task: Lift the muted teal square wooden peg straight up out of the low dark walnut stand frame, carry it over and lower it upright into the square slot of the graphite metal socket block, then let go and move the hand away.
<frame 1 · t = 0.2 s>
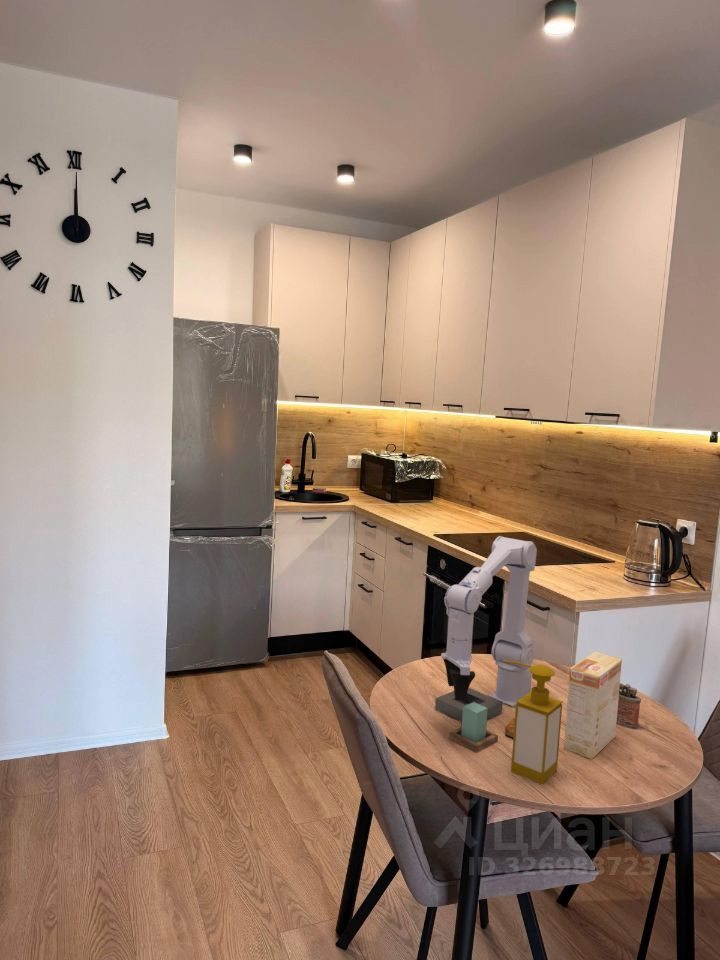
hand: (456, 692, 160), 10 cm above the table, tool pointing down, fingers open, 7 cm apart
socket block: (468, 711, 173), on the table
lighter: (621, 723, 170), on the table
teal peg: (474, 723, 158), in the stand frame
stand frame: (473, 740, 158), on the table
pastry: (523, 733, 163), on the table
coffeecake box: (589, 743, 159), on the table
soap bottle: (522, 767, 148), on the table
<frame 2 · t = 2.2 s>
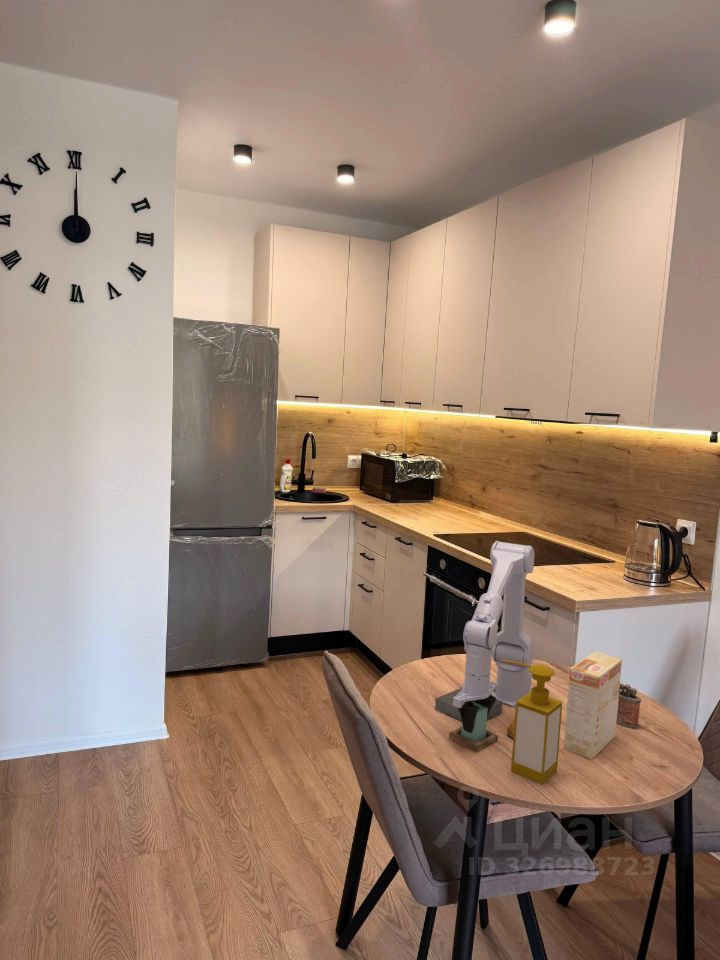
hand: (473, 728, 158), 3 cm above the table, tool pointing down, fingers closed on teal peg, 4 cm apart
teal peg: (474, 723, 158), in the stand frame, touching gripper
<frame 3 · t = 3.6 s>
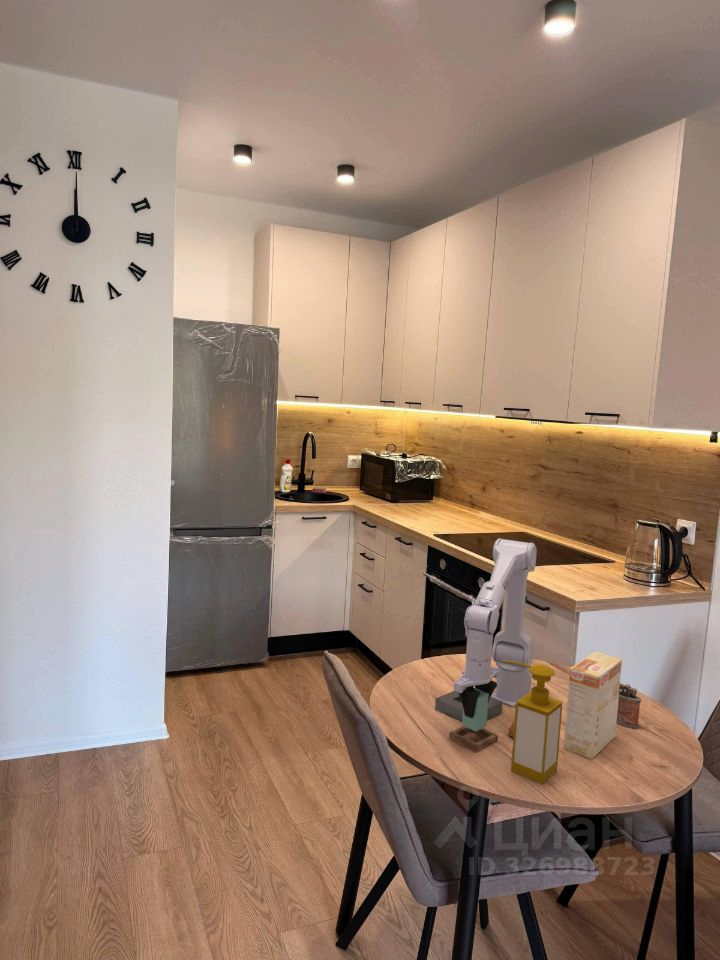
hand: (475, 713, 157), 6 cm above the table, tool pointing down, fingers closed on teal peg, 4 cm apart
teal peg: (475, 709, 157), point 8 cm above the table, touching gripper
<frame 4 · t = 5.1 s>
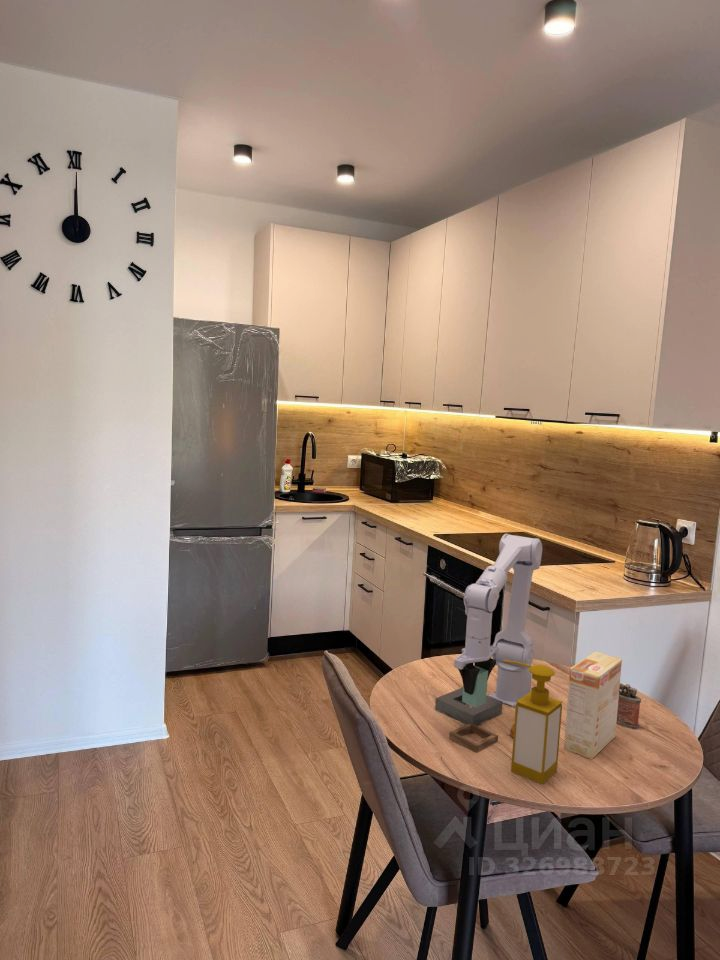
hand: (474, 690, 161), 10 cm above the table, tool pointing down, fingers closed on teal peg, 4 cm apart
teal peg: (475, 686, 161), point 11 cm above the table, touching gripper
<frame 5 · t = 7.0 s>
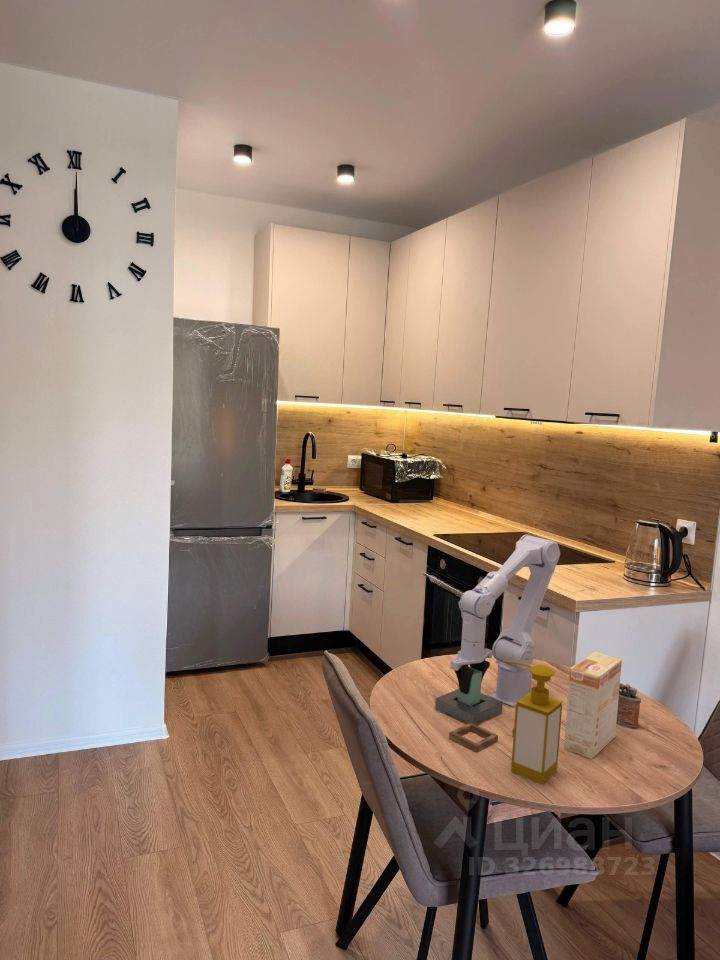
hand: (469, 690, 172), 6 cm above the table, tool pointing down, fingers closed on teal peg, 4 cm apart
teal peg: (469, 686, 172), point 7 cm above the table, touching gripper
when the fingers open (4 cm above the table, at t = 8.3 s): teal peg drops 1 cm, resting in socket block.
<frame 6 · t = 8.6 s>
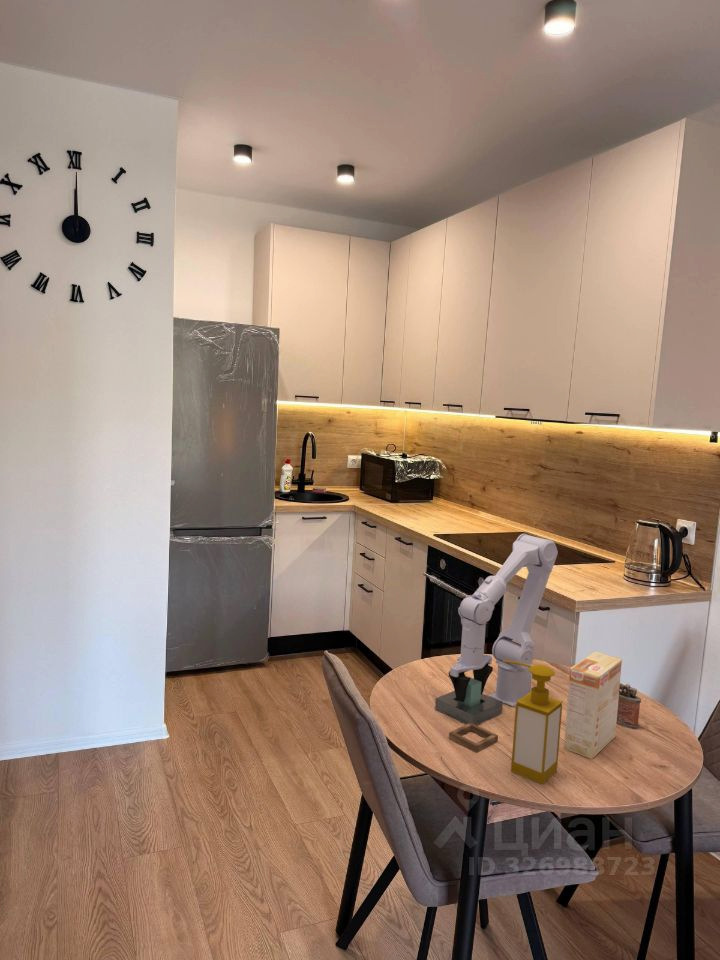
hand: (469, 696, 172), 4 cm above the table, tool pointing down, fingers open, 7 cm apart
teal peg: (469, 696, 172), in the socket block
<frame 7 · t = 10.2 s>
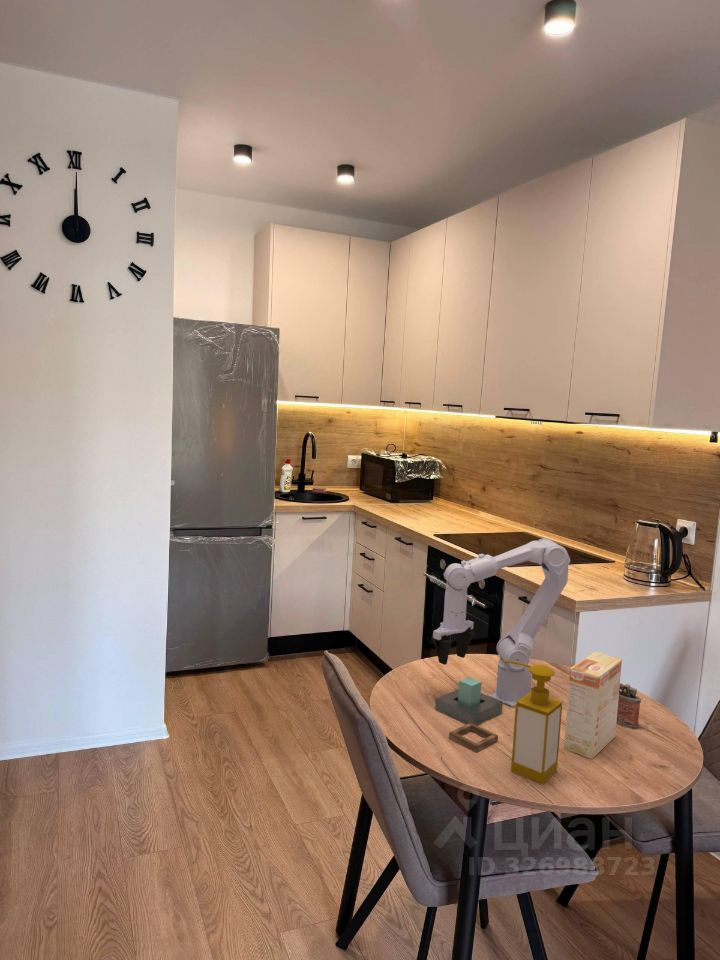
hand: (451, 659, 179), 10 cm above the table, tool pointing down, fingers open, 7 cm apart
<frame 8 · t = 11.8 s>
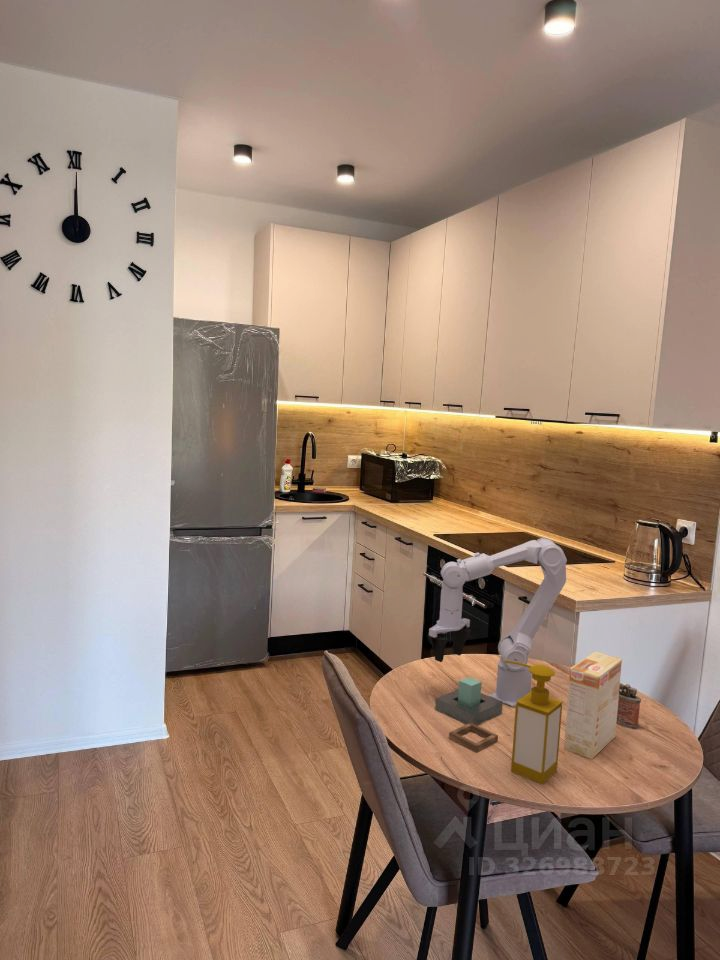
hand: (448, 657, 181), 10 cm above the table, tool pointing down, fingers open, 7 cm apart
at the end: teal peg 0.0 cm off-centre on the socket block, point 4.0 cm above the socket block's base; teal peg tilted 0°; the gripper is holding nothing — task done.
